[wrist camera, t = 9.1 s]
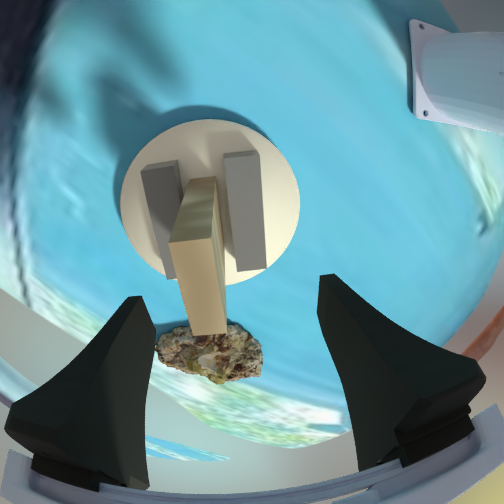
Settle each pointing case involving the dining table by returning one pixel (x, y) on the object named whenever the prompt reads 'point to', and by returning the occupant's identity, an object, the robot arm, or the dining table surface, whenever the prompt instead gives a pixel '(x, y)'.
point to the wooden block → (201, 257)
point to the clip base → (229, 193)
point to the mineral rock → (212, 353)
